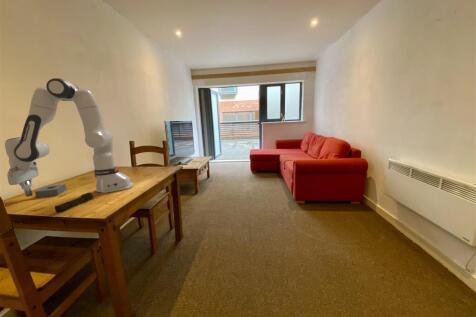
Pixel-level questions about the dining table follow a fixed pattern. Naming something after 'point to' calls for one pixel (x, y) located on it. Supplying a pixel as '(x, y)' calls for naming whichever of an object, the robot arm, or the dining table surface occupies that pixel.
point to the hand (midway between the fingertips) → (27, 187)
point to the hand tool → (74, 202)
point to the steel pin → (28, 189)
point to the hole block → (50, 190)
